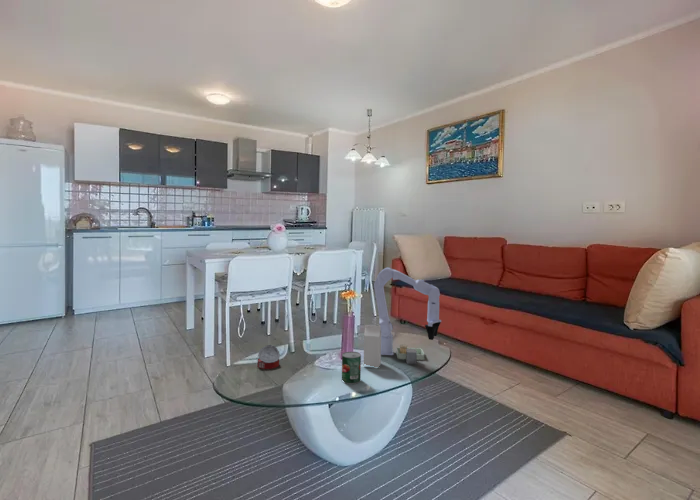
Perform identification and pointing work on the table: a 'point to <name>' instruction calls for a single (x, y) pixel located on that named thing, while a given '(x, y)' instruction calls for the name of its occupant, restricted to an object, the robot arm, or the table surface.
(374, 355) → the milk carton
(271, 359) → the grey and red dome
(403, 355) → the crate
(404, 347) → the jar
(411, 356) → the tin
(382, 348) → the robot arm
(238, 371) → the table surface
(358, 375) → the canned tomato
